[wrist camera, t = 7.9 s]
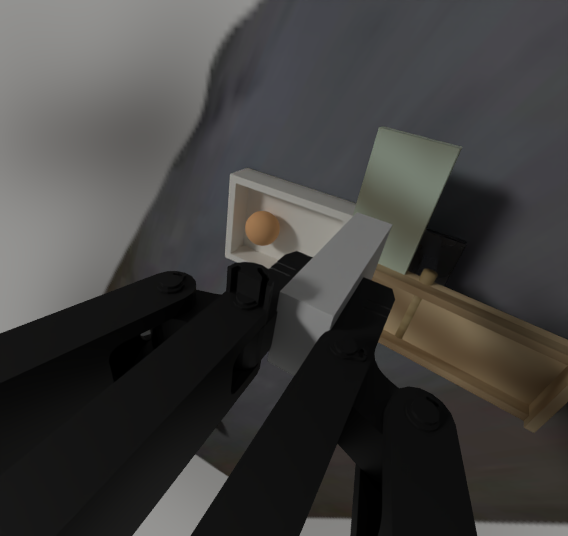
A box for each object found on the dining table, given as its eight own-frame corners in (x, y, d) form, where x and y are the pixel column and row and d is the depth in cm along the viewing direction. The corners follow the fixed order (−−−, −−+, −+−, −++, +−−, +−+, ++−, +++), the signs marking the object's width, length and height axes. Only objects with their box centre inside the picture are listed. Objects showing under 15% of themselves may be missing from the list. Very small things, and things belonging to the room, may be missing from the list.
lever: (383, 126, 21) (370, 129, 19) (723, 214, 15) (751, 231, 13) (328, 307, 30) (315, 321, 28) (527, 412, 23) (527, 439, 22)
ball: (281, 207, 33) (247, 203, 33) (283, 222, 30) (245, 218, 30) (276, 237, 35) (244, 233, 35) (277, 253, 32) (242, 250, 32)
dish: (247, 167, 33) (230, 173, 31) (362, 205, 29) (353, 215, 27) (240, 246, 38) (224, 256, 36) (337, 287, 34) (327, 301, 32)
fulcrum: (417, 226, 28) (408, 248, 24) (466, 242, 26) (464, 268, 23) (383, 305, 33) (371, 334, 29) (423, 322, 31) (416, 355, 28)
